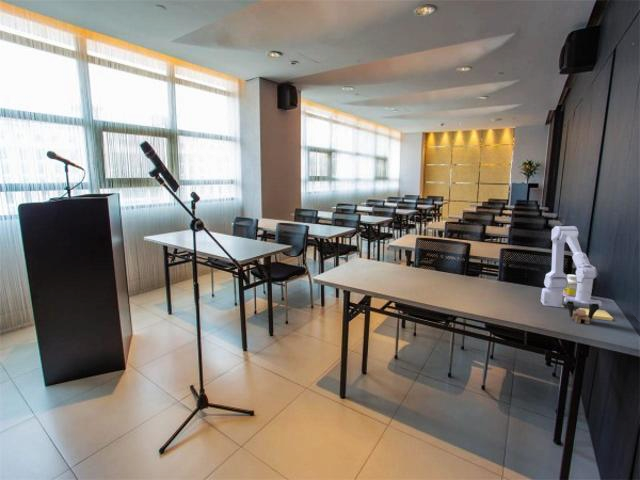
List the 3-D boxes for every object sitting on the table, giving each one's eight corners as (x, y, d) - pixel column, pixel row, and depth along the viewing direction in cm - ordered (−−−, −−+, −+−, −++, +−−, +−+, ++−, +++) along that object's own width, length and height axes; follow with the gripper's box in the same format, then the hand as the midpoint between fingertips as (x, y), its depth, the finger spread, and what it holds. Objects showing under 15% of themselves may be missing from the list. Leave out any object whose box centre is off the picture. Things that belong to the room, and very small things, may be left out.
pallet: (576, 323, 163) (577, 316, 163) (571, 316, 171) (571, 310, 170) (588, 324, 161) (589, 318, 161) (583, 318, 169) (584, 312, 168)
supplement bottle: (561, 293, 203) (563, 273, 201) (574, 295, 200) (577, 274, 198) (564, 297, 197) (567, 276, 194) (578, 298, 194) (581, 277, 192)
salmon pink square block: (577, 315, 165) (578, 310, 164) (575, 312, 167) (576, 308, 167) (585, 316, 164) (586, 311, 163) (583, 313, 166) (583, 309, 166)
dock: (585, 317, 169) (585, 314, 168) (578, 310, 178) (579, 307, 178) (612, 320, 165) (613, 317, 164) (604, 313, 174) (604, 310, 174)
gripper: (568, 291, 162) (565, 318, 165) (605, 295, 157) (601, 322, 159) (564, 287, 169) (560, 313, 171) (599, 290, 163) (596, 316, 166)
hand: (580, 317), depth 166 cm, fingers open, 7 cm apart
